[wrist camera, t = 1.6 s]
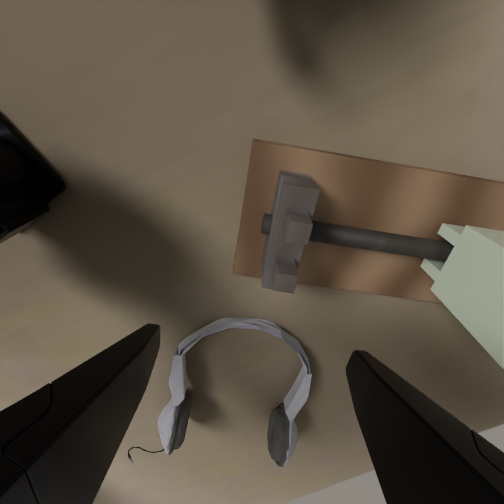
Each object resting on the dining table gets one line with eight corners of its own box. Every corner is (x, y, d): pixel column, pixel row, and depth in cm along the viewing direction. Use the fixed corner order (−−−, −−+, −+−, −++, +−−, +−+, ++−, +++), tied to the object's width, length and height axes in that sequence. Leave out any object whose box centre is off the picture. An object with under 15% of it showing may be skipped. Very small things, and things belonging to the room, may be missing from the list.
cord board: (233, 267, 24) (226, 321, 18) (253, 138, 19) (252, 156, 13) (547, 311, 25) (632, 373, 20) (637, 205, 21) (782, 246, 15)
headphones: (279, 455, 35) (324, 316, 29) (286, 510, 30) (343, 353, 24) (136, 438, 34) (150, 287, 27) (115, 493, 28) (127, 320, 22)
